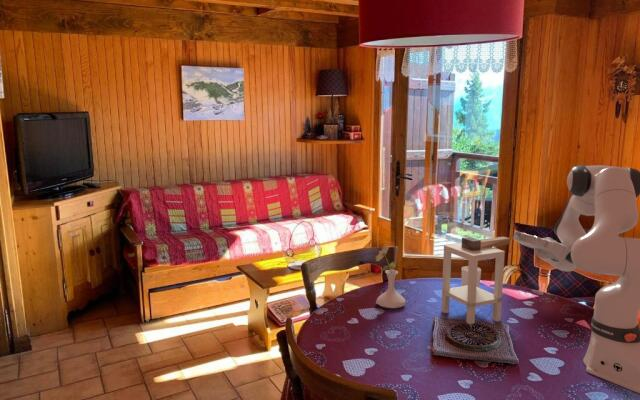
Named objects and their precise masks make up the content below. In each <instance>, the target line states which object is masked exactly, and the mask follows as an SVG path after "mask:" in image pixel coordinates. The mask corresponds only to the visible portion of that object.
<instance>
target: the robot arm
mask: <svg viewBox="0 0 640 400" xmlns="http://www.w3.org/2000/svg"><path fill="white" fill-rule="evenodd" d="M566 186H567V188H568V191H569V192H570V194H571V195H570V197H569V198H568V199H567V201H566V204H565V206H564V208H563V210H562V214H561V216H560V217H559V219H558V220H557V221H556V223H555V224H554V226H553V233H554V234H555V235H556V236H557V238H558V239H559V241H560V242H561V243H560V242H558V241H557V240H555V239H553V238H551V237H543V238H542V237H539V236H536V235H532V234H529V233H528V234H527V233H525V232H520V231H519V230H515V231H514V233H513V236H512V239H513V240H514V241H516V242H517V243H519V244H521V245H522V246H525V247H527V248H530V249H534V254H535V256H536V257H538V258H539V259H540V260H542V261H544V262H546V263H549V265H550V266H552V267H553V268H555V269H557V270H560V271H561V272H572V271H573V272H574V271H575V270H576V269H577V270H579V271H582V272H588V273H590V274H591V273H592V274H595V275H603V276H604V275H605V276H615V277H616V276H618V277H619V278H618V279H617V280H616V281H615V282H613V283H611V284H608V285H605V286H603V287H601V288H600V289H599V290H598V291H597V292H596V293H595V297H594V307H593V310H594V311H593V316H592V317H591V321H590V330H591V334H590V339H589V344H588V345H587V346H588V347H587V350H586V353H585V354H584V356H583V359H582V361H583V362H582V363H584V365H585V367H586V368H585V371H586V372H587V373H589V374H591V375H593V376H595V377H598V378H601V379H603V380H605V381H608V382H610V383H612V384H615V385H617V386H621V387H622V388H625V389H627V390H630V391H632V392H636V393H638V394H640V325H639V315H640V238H638V237H637V238H636V237H622V236H619V235H620V234H623V233H625V232H628V231H630V230H632V229H633V228H634V227H635V226H636V225H637V224H638V222H639V217H640V216H639V210H638V200H637V198H638V197H639V196H640V170H639V169H636V168H632V167H622V166H621V167H620V166H611V165H610V166H609V165H600V164H597V165H596V164H595V165H585V164H582V165H575V166H573V167H572V168H571V169H570V170H569V173H568V174H567V177H566ZM580 216H586V217H590V216H591V217H593V216H594V221H593V224H592V227H591V228H590V229H589V230H588V232H586V231H585V229H584V228H583V226H582V224H581V222H580V220H579V219H580Z"/></svg>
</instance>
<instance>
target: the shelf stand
mask: <svg viewBox="0 0 640 400" xmlns="http://www.w3.org/2000/svg"><path fill="white" fill-rule="evenodd" d="M505 252H506V251H505V250H501V249H499V248H497V247H488V248H481V249H480V250H476V251H471V250H468V249H466V248H463V247H462V242H457V243H450V244H448V243H447V244H444V245H443V257H442V259H443V261H442V262H443V263H442V285H441V287H442V288H441V289H442V290H441V313H443V314H449V313H450V299H453V300H455V301H456V302H458V303H461V304H463V305H465V306H466V319H465V320H466V322H467V323H469V324H471V323H475V321H476V308H477V307H482V306H487V305H492V304H493V305H492V321H494V322H501V320H502V319H501V318H502V305H503V284H504V269H505V268H504V267H505V254H506V253H505ZM452 254H453V255H455V256H458V257H460V258H463V259H465V260H468V263H467V264H468V265H467V266H468V285H465V286H462V285H461V286H455V287H451V275H452V273H451V270H452ZM491 259H495V263H494V264H495V266H494V284H493V285H494V286H493V293H492V292H489V291H487V290H485V289H483V288H480V286H479V287H476V286H477V267H478V264H479V263H478V262H479V261H485V260H486V261H487V260H491ZM466 322H465V323H466Z"/></svg>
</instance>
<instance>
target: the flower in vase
mask: <svg viewBox="0 0 640 400" xmlns="http://www.w3.org/2000/svg"><path fill="white" fill-rule="evenodd" d="M389 249H390V246H389V245H388V244H386V245H384V246H382V248H381V250H379V251H378V254H377V255H376V256H375V261H376V262H379V261H381V260H382V259H383V258H384V257H385V260H386V263H387V265H385V266H383V267H382V269H381V272H385V274H386V276H387V280H388V286H387V289H386V290H385V291H384V292H383V293H381V294H380V295H379V296H378V297H377V299H376V300H375V301H376V303H377V305H379V306H380V307H383V308H386V309H398V308H402V307H404V306H405V305H406V302H407V301H406V299H405V297H404V296H402V295H401V294H400V293H398V292H397V290H396V289H395V280H396V276H397V275H398V273H399V271H398V270H395V268H396V261H395V260H394V261H391V263H389V261H388V258H387V256H386V254H387V253H388V250H389Z"/></svg>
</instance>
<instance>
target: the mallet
mask: <svg viewBox="0 0 640 400" xmlns="http://www.w3.org/2000/svg"><path fill="white" fill-rule="evenodd" d="M510 240H511V239H510V237H506V236H496V237H490V238H489V237H488V238H483V239H479V238H475V237H471V236H463V237H461V243H462V247H463V248H466V249H468V250H471V251H476V250H480V249H481V248H488V247H493V248H496V247H501V246H502V247H503V246H508V245H510Z"/></svg>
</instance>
